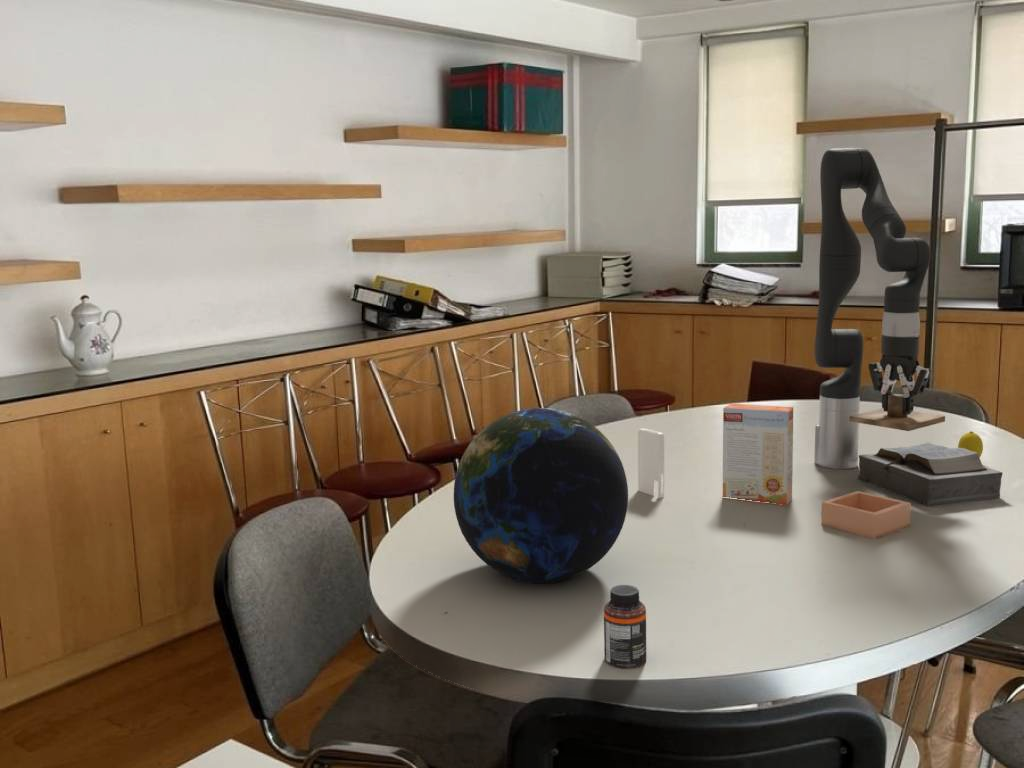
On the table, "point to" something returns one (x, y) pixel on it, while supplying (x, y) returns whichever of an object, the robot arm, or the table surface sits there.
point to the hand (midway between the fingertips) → (897, 412)
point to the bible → (931, 474)
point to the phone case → (650, 461)
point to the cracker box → (758, 452)
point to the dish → (866, 514)
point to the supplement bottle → (625, 628)
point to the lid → (897, 416)
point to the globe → (540, 495)
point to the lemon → (971, 443)
